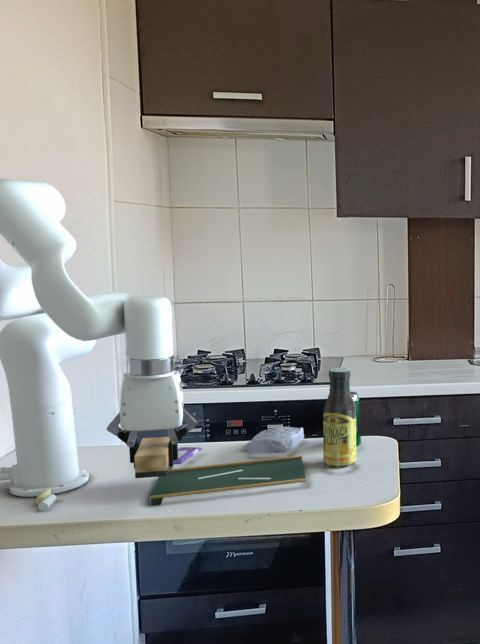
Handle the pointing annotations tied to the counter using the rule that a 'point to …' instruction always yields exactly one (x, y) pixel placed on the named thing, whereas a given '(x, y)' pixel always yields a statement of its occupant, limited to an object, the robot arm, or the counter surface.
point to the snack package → (185, 454)
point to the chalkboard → (228, 477)
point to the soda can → (357, 417)
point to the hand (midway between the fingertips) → (154, 464)
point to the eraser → (152, 458)
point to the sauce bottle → (339, 422)
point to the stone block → (275, 440)
